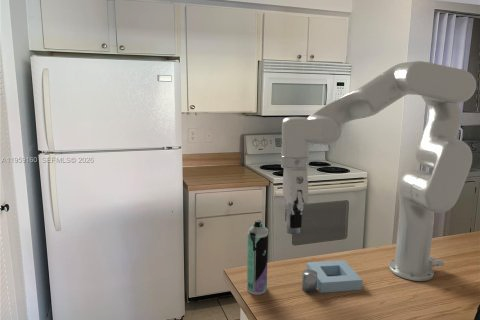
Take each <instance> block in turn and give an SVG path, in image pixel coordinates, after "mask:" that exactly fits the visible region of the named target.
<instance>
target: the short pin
mask: <svg viewBox="0 0 480 320" xmlns="http://www.w3.org/2000/svg"><path fill="white" fill-rule="evenodd" d="M301 278H302V279H301V280H302V282H301V283H302V285H301V289H302V291H303V292H304V293H306V294H310V295H311V294H316V292H317V291H318V288H317V272H316V271H314V270H306V269H304V270H303V271H302V277H301Z"/></svg>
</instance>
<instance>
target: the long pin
mask: <svg viewBox="0 0 480 320" xmlns="http://www.w3.org/2000/svg"><path fill="white" fill-rule="evenodd" d="M294 203H297V201H296V202H294ZM295 207H297V206H294V209H295ZM285 212H286V221H285V232H286V233H287V234H289V235H298V234H300V233H301V228H290V214H291V204H290V203H289V202H288V201H287V208H285Z"/></svg>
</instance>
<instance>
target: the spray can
mask: <svg viewBox="0 0 480 320" xmlns="http://www.w3.org/2000/svg"><path fill="white" fill-rule="evenodd" d="M268 249H269V230H268V228H267V227H266V226H264V224H263V223H262V220H255V222H254V223H253V225H252V226H250V227H248V230H247V257H246V258H247V262H246V263H247V267H246V270H247V271H246V272H247V273H246V290H247V292H248V293H249V294H251V295H255V296H256V295H257V296H260V295H263V294H265V293H267V289H268V288H267V286H268Z"/></svg>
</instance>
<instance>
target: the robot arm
mask: <svg viewBox="0 0 480 320" xmlns="http://www.w3.org/2000/svg"><path fill="white" fill-rule="evenodd" d="M476 89H477V81H476V78H475V76H474V75H473V74H472V73H471V72H469V71H467V70H465V69H461V68H457V67H452V66H446V65H442V64H438V63H437V64H436V63H432V62H428V61H422V60H418V61H417V60H416V61H409V62H401V63H397V64H395V65H393V66H392V67H390V68H388V69H386V70H385V71H383V72H381V74H379V75H377V76H376V77H374V78H373V79H371V80H370V81H368V82H367V83H365V84H363V85H362V86H360V87H357V89H355V90H353V91H350V92H349V93H346V94H345V95H343V96H340V97H339V98H337V99H335V100H333V101H331V102H329V103H327V104H326V105H324V106H323V107H321V108H320V109H317V110H316V111H315V112H313V113H312V114H310V115H308V117H307V118H306V117H303V116H302V117H301V116H288V117H285V118H284V119H283V120H282V121H281V154H280V155H281V159H280V163H281V165H280V167H281V168H282V169H283V173H282V174H283V175H282V195H283V197H284V198H285V209H287V201H288V202H289V203H290V204H291V214H290V228H300V229H301V228H302V223H303V222H302V218H303V217H302V216H303V210H304V207H305V206H304V205H308V203H309V176H308V169H309V162H310V159H309V158H310V145H311V144H314V145H320V146H329V145H333V144H334V143H336V142H337V141H339V139H340V138H341V136H342V127H341V126H342V125H344V124H346V123H348V122H352V121H355V120H359V119H360V120H361V119H365V118H369V117H371V116H372V117H373V116H375V115H376V114H378V113H380V112H381V111H383V110H384V109H386V108H387V107H389V106H391V105H392V104H394V103H396V102H397V101H398V100H400V99H402V98H403V97H404V96H407V95H412V96H413V95H417V96H421V98H422V100H424V102H425V105H426V107H427V119H426V123H425V126H424V129H423V132H422V134H421V136H420V139H419V141H418V145H417V147H416V151H415V159H416V160H417V162H418V163H419V164H420V165H422V166H424V167H426V168H429V169H432V172H429V171H426V170H422V169H412V170H408V171H407V172H405V173H404V174H403V175H401V177H400V179H399V182H398V197H399V200H398V201H399V214H398V224H397V232H396V233H397V234H396V243H395V245H396V246H395V251H394V252H395V253H394V259H392V260H390V261H389V262H388V269H389V271H390V272H391V273H393V274H395V276H397V277H399V278H403V279H406V280H408V281H409V280H410V281H413V282H414V281H415V282H425V281H430V280H432V279H433V278H434V274H435V273H434V269H433V268H435V267H442V266H444V263H445V262H444V260H443V259H441V258H440V259H434V257H433V256H431V250H432V242H433V234H434V226H435V225H434V224H435V213H437V214H442V213H445V212H447V211H450V210H451V209H452V208H453V207H455V204H456V203H457V202H458V200H459V198H460V195H461V192H462V190H463V188H464V185H465V182H466V181H467V178H468V175H469V172H470V170H471V167H472V164H473V153H472V150H471V148H470V145H468V144H467V143H466V142H465V141H463V140H461V139H457V136H458V133H459V130H460V127H461V124H462V110H461V107H460V105H459V104H460V103H464V102H467V101H468V100H470V99H471V98H472V97H473V95H475V94H474V93H475V92H476ZM296 201H297V203H294V202H296ZM294 206H297V207H295V209H294ZM284 213H285V214H284V215H285V218H284V219H285V222H286V211H285V212H284Z"/></svg>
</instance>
